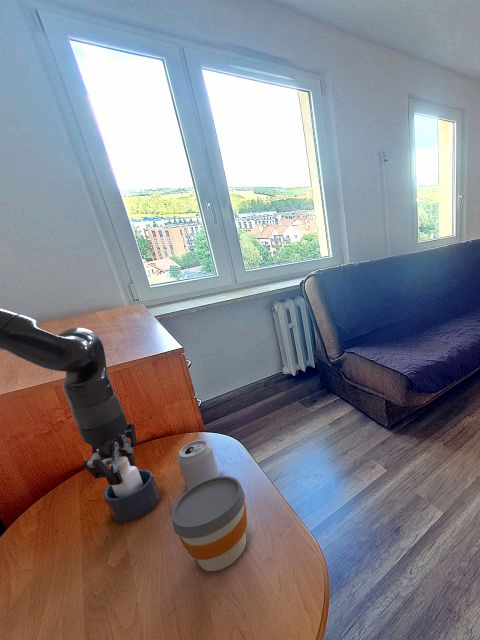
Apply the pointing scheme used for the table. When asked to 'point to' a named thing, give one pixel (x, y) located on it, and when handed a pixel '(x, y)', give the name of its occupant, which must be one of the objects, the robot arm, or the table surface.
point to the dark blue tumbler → (133, 499)
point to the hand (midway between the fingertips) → (123, 474)
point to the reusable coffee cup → (212, 522)
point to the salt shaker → (127, 478)
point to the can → (197, 462)
